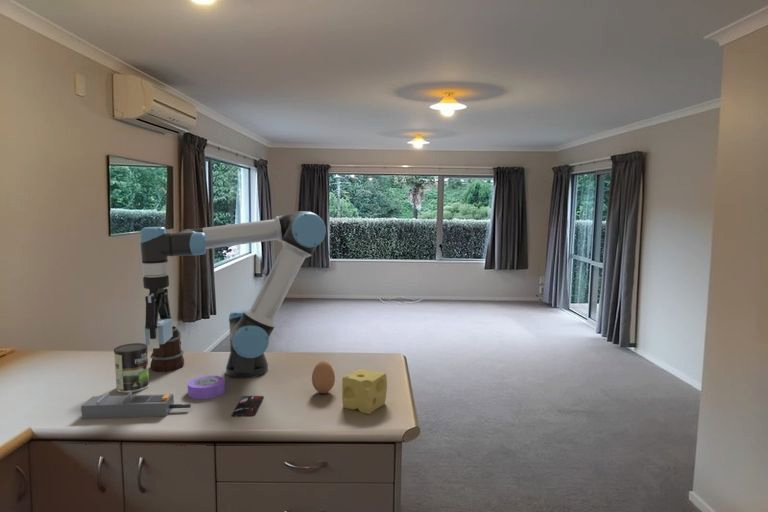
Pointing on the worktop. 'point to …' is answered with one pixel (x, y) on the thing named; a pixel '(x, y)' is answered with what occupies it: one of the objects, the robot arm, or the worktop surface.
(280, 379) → the worktop surface
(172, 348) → the mug
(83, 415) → the power strip
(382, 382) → the cheese
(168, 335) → the block
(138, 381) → the coffee can
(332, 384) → the egg
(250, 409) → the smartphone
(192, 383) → the masking tape
